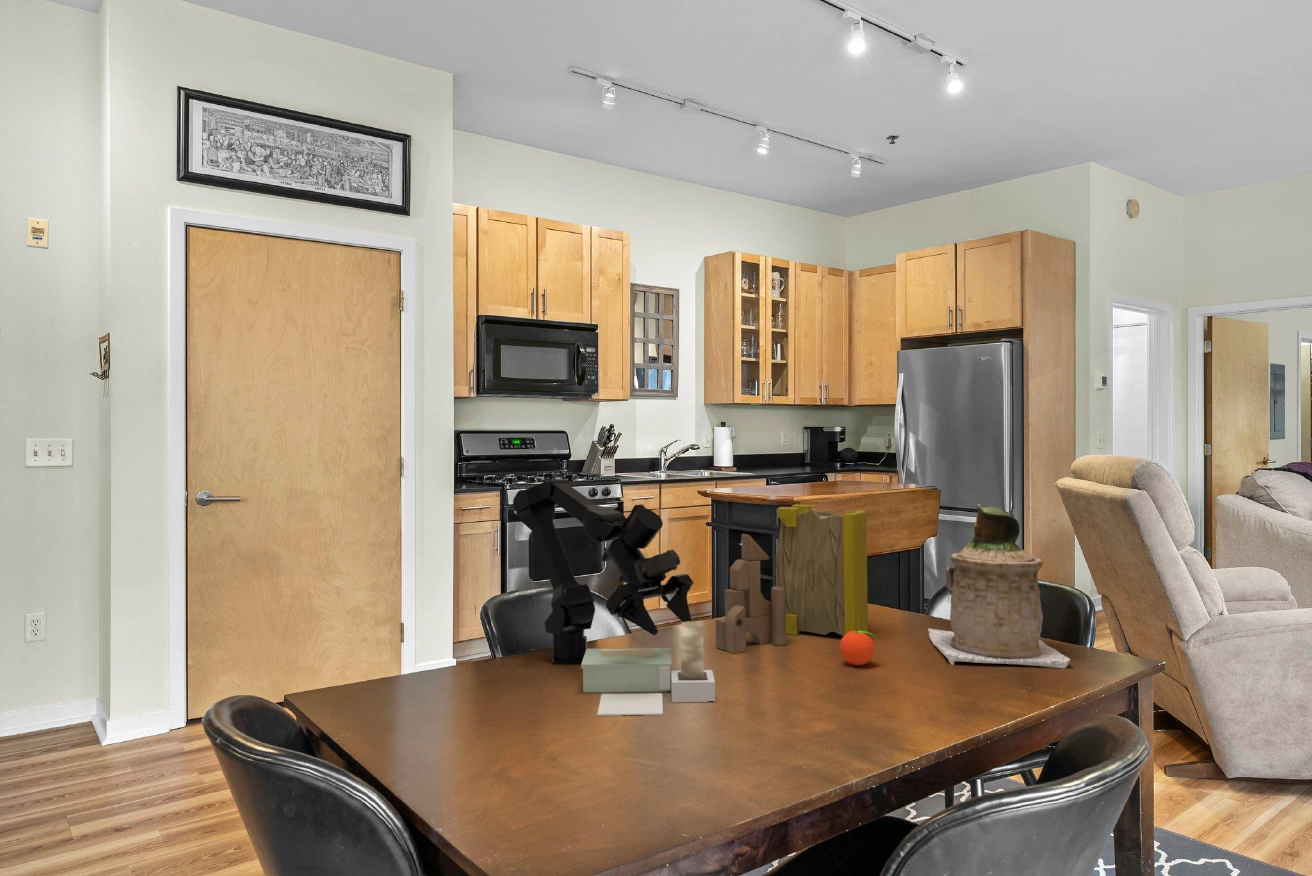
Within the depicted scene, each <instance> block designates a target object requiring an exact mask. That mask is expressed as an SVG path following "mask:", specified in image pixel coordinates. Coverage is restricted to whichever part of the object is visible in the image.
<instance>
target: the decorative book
mask: <svg viewBox="0 0 1312 876" xmlns="http://www.w3.org/2000/svg"><path fill="white" fill-rule="evenodd" d="M777 518H778V519H780V521H781V523H780V528H779V529H780V530H779V536H778V541H777V542H778V543H777V547H776V552H775V587H777V586H779V587H784V588H785V589H786V635H792V636H798V635H799V634H800V632H807V633H808V632H809V633H812V634H818V635H823V636H824V635H825V636H826V635H828V634H830V633H836V634H838V635H841V637H844V635H845V634H847V633H848V632H850V631H856V630H858V631H865V632H869V628H868V627H869V621H868V620H869V619H868V611H869V609H868V605H869V604H868V541H867V540H868V538H867V537H868V535H867V534H868V533H867V530H868V529H867V528H868V527H867V521H868V520H867V511H866V510H855V511H854V512H851V513H850V512H849V513H844V514H842V515H841V514H840V515H839V514H838V513H835V512H830V511H826V510H821V511H820V510H814V509H812V505H811V504H792V505H791V506H790V507H789V506H780V507H777Z"/></svg>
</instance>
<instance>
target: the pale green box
mask: <svg viewBox="0 0 1312 876" xmlns="http://www.w3.org/2000/svg"><path fill="white" fill-rule="evenodd" d="M671 649H672V648H671V647H617V648H613V647H612V648H603V647H602V648H587V649H586V652H585V655H584V658H583V661H582V663H580V664H581V666H580V669H581V670H582V681H583V682H582V690H583V693H631V692H632V693H640V692H641V693H652V692H653V693H654V692H655V693H663V692H665V693H666V692H667V691H670V693H671V702H672V703H709V702H708V701H714V702H713V703H715V702H716V680H715V676H714V673H713V672H714V671H713V669H712V670H711V669H703V671H704V680H681V669H680V670H679V669H677V670H676V669H674V670H671V669H672V668H673V667H672V664H673V663H672V652H671V651H672V650H671Z"/></svg>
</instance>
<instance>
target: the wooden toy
mask: <svg viewBox="0 0 1312 876" xmlns="http://www.w3.org/2000/svg"><path fill="white" fill-rule="evenodd" d="M764 560H770V556H769V555H768V554H767V553H766V552H765V551H764V550H763V549H762V548H761V546H760V545H759V544H758V543H757V542H756V541H755V540H754V539H753V538H752V537H751V535H750V534H747V533H742V534H741V559H740V558H739V559H736V560H735V561H734V562H733V564H732V565H731V566H730V568H729V588H727V589H725V590H724V617H722V618H717V619H715V647H716V649H718V648H720V649H719V650H721V649H722V650H721V651H723V650H726V651H725V652H728V651H729V652H728V653H730V652H731V654H733V653H736V654H739V653H746V651H747V649H746V645H747V642H746V638H747V637H746V634H747V633H749V635H750V636H751V642H752V643H755V644H757V645H767V644H772V645H774V646H777V647H779V646H780V647H781V646H785V645H786V644H787V634H786V589H785V588H784V587H779V586H777V587H776V586H772V587H771V590H770V591H771V592H770V594H771V595H770V597H771V598H770V600H771V601H769V600H767V599H766V598H764V595H763V594H762V592H761V590H762V589H761V561H764Z"/></svg>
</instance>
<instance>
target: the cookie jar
mask: <svg viewBox="0 0 1312 876" xmlns="http://www.w3.org/2000/svg"><path fill="white" fill-rule="evenodd" d="M976 507H977V510H978V511H977V512H978V513H977V515H976V516H975V519H976V521H975V522H974V526H973V527H974V529H973V533H974V536H973V537H972V540H971V542H968V543H967V544H966V545H965V546H964V547H963V548H962V550H960V552H956V553H952V554H950V561H951V563H952V565H953V566H954V567H953V566H948V567H946V570H945V586H946V590H948V591H949V594H950V616H949V617H950V618H949V621H950V624H949V625H950V627H951V629H952V631H949V630H941V629H934V628H927V630H928V635H929V639H930V642H932V644H933V646H935V648H937V649H938V650H939V652H940V653H941V654H942V655H943V656H945V658H947V660H948V662H949V664H950V665H951V666H954V665H955V662H967V663H977V664H978V663H981V664H1002V665H1003V664H1005V665H1006V664H1008V665H1021V666H1022V665H1023V666H1035V667H1036V666H1038V667H1046V668H1054V669H1055V668H1056V669H1058V668H1060V669H1066V668H1067V666H1068V665H1069V663H1070V662H1071V658H1069V657H1068V656H1066V655H1064V654H1062V653H1061V652H1060V651H1058V650H1057V649H1056V648H1053V647H1051V646H1049V645H1047V644H1046V643H1045V642H1044V641H1042V640H1041V639H1040V638H1041V634H1042V627H1043V626H1042V625H1043V622H1044V621H1043V620H1044V616H1043V615H1044V613H1043V611H1042V610H1043V609H1042V604H1041V599H1040V598H1041V590H1040V587H1039V579H1038V573H1039V571H1040V570H1041V568H1042V567H1043V561H1042V560H1041V558H1039V557H1038V558H1037V557H1035V556H1033V554H1030V553H1029V552H1028V551H1025V550H1024V549H1022V548H1021V547H1020V546H1019V545H1017V543H1016V542H1017V540H1018V538H1019V535H1020V529H1021V528H1020V523H1019V521H1018V520H1017V518H1016V517H1014V516H1013V515H1011V514H1010V513H1008V512H1006V511H1004V510H1003V509H1001V508H999V507H996V506H989V507H988V506H987V507H983V506H982V505H981V504H980V503H979V504H976Z"/></svg>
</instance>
